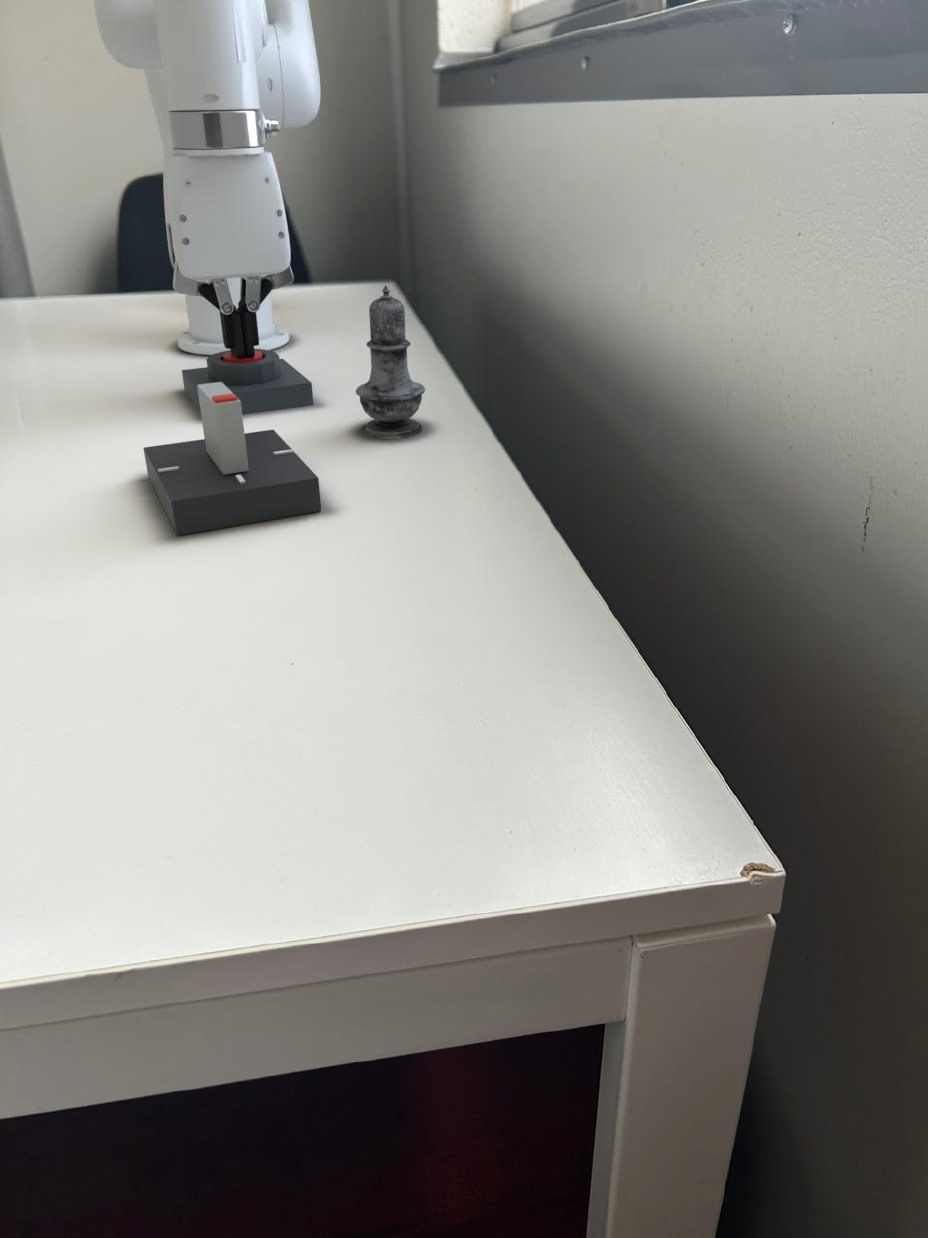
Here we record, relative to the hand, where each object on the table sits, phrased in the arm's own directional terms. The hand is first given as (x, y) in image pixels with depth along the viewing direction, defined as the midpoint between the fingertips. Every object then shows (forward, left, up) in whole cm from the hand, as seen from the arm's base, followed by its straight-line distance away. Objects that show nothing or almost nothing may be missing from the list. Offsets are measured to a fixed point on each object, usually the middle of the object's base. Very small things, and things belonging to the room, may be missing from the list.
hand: (242, 354), depth 92 cm
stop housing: (0, 0, -4) cm, 4 cm away
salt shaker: (+15, +9, -5) cm, 18 cm away
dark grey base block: (+24, -7, -4) cm, 25 cm away
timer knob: (+24, -7, -2) cm, 25 cm away
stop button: (0, 0, -2) cm, 2 cm away
